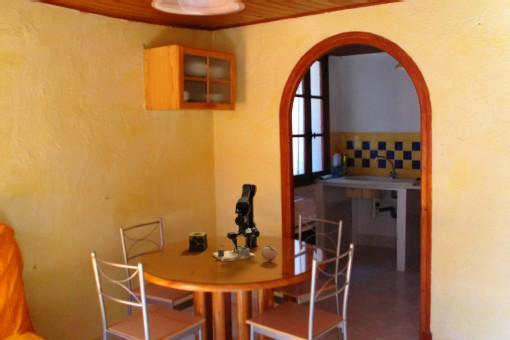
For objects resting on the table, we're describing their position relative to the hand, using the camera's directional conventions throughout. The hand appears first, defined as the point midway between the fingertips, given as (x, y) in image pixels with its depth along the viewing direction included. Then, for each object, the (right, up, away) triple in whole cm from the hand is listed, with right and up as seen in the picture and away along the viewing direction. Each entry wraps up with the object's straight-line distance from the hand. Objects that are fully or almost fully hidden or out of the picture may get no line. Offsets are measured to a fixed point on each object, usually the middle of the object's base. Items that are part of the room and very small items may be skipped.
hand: (243, 248), depth 288 cm
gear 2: (0, -3, 0) cm, 3 cm away
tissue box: (-29, -4, +21) cm, 36 cm away
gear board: (-6, -5, +2) cm, 8 cm away
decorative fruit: (+15, -6, -12) cm, 20 cm away
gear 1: (-3, -3, +7) cm, 8 cm away
